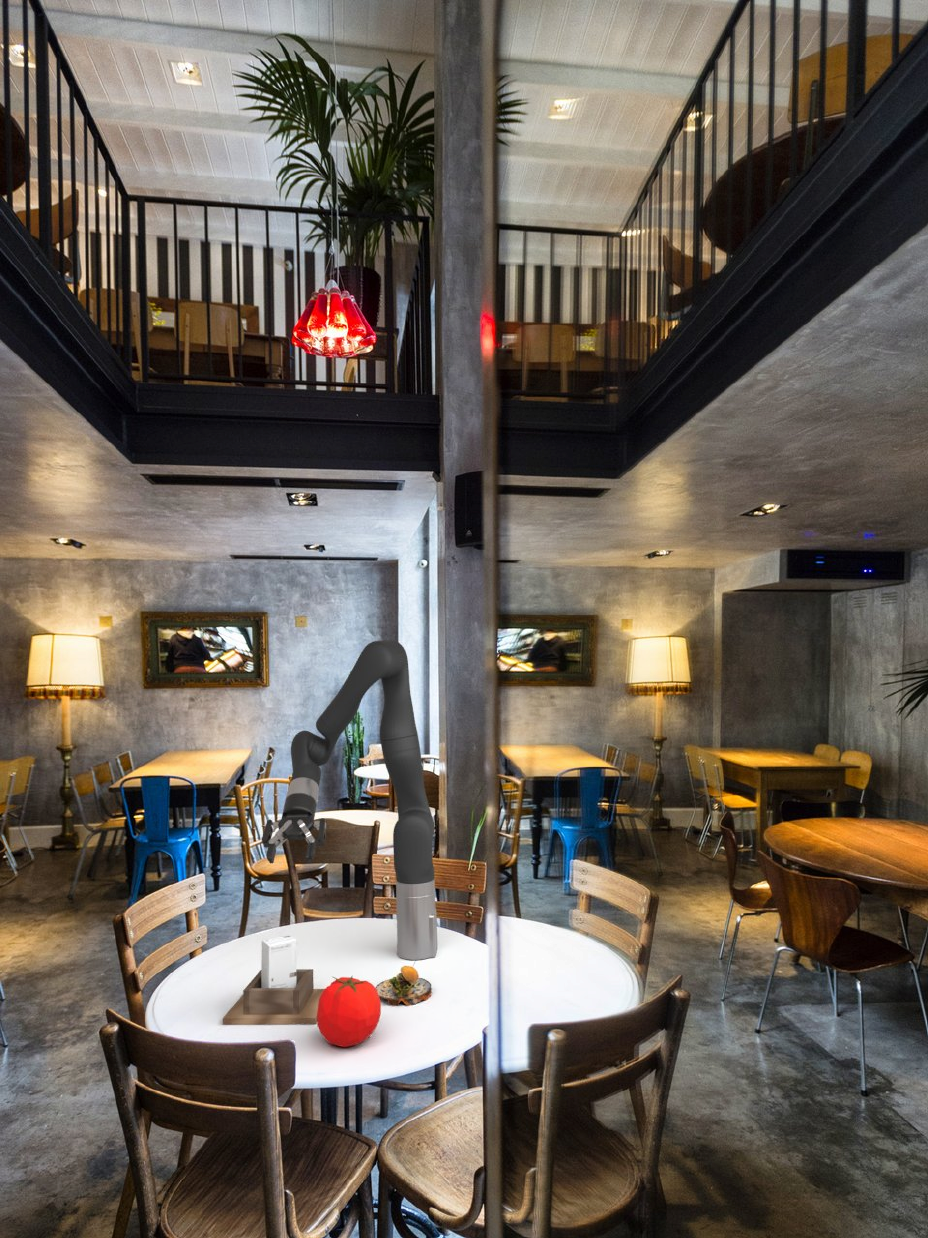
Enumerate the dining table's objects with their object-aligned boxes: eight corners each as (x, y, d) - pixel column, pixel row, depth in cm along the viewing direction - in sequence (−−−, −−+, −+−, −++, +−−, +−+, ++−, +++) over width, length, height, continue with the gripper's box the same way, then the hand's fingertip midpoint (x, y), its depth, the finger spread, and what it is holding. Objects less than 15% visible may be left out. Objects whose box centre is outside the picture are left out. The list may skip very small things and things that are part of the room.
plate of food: (395, 981, 170) (394, 946, 170) (442, 990, 164) (441, 953, 165) (363, 1002, 159) (362, 964, 160) (412, 1012, 153) (411, 973, 154)
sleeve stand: (332, 994, 162) (331, 966, 163) (315, 1024, 148) (315, 993, 149) (246, 995, 163) (246, 967, 164) (222, 1024, 149) (222, 994, 150)
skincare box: (268, 1010, 153) (268, 946, 154) (260, 1003, 156) (259, 940, 157) (298, 1002, 156) (297, 940, 157) (289, 995, 160) (289, 934, 161)
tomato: (313, 1032, 145) (312, 970, 146) (374, 1022, 148) (373, 962, 149) (322, 1062, 134) (321, 994, 134) (388, 1050, 137) (386, 985, 138)
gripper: (268, 792, 186) (254, 852, 173) (328, 791, 185) (317, 851, 173) (275, 811, 190) (261, 871, 178) (333, 810, 190) (323, 869, 178)
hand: (289, 861), depth 175 cm, fingers open, 8 cm apart
